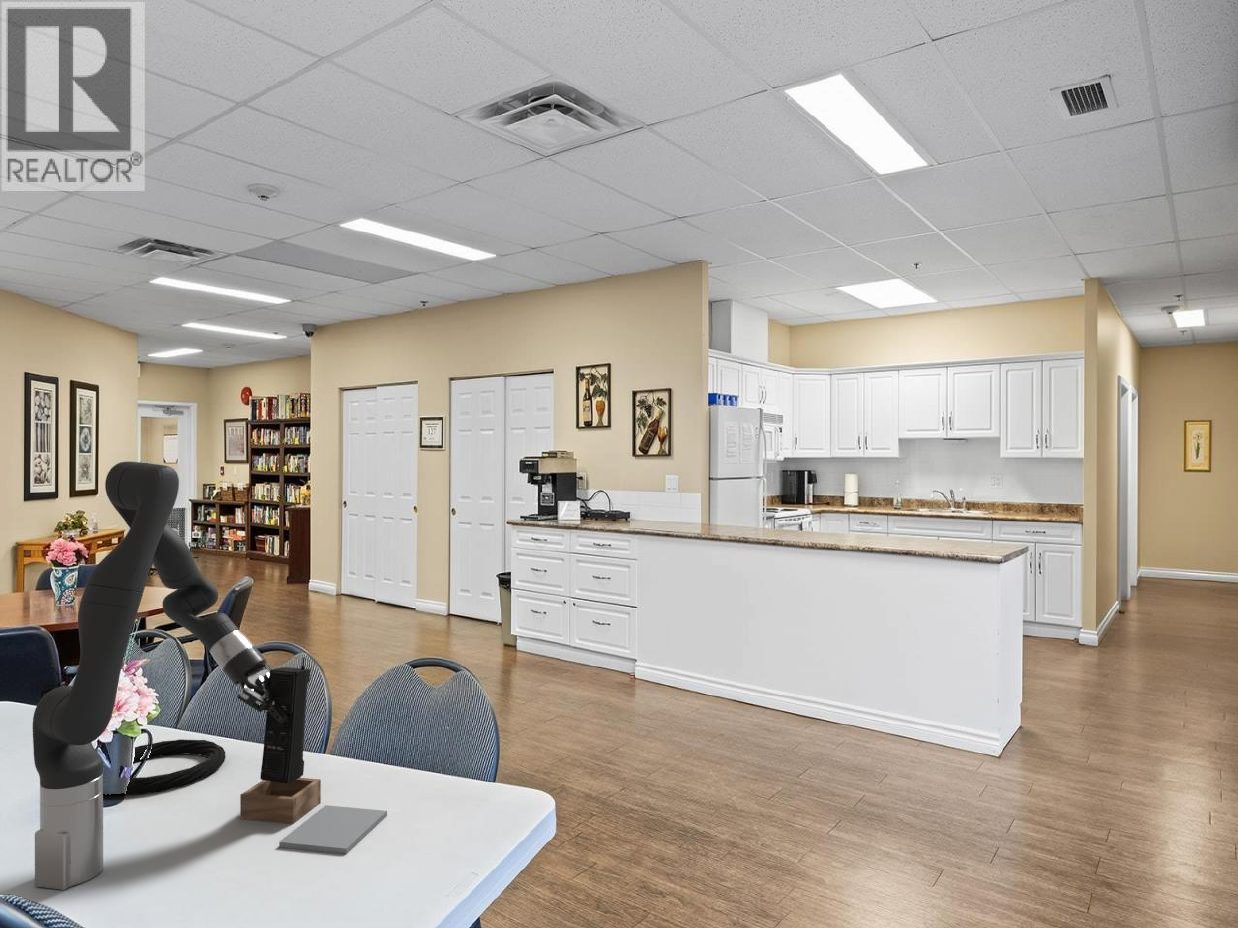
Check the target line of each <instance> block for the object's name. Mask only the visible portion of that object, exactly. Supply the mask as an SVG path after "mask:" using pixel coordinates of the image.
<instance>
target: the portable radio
mask: <svg viewBox="0 0 1238 928" xmlns="http://www.w3.org/2000/svg"><path fill="white" fill-rule="evenodd" d="M301 659H302V662H301V663H302V664H301V666H300V667H291V666H289V667H288V666H282V667H276V668H271V669H269V671H270V675H269V688H270V689H271V691H272V696H273V697H274V699H275V700H276V702H277V704H279V705H280V706H281V707H282V709H283V710H284V711H285V712H286V714H287V715H288V719H287V720H286V721H285V722H284V723H282V724H279V723H278V722H277V721H276V720H275V718H274V717H273V716H272V715H271V714H270V712H266V711H265V712H266V714H265V715H266V716H265V729H264V739H263V740H264V741H263V752H262V759H261V760H262V761H261V770H260V776H259V778H260V780H261V781H262V780H266V781H273V782H281V783H289V782H291V781H294V780H296V779H298V778H302V777H303V775H304V770H305V760H304V759H303V757H304V744H305V743H304V742H305V730H306V729H305V726H306V712H307V696H308V684H309V682H310V681H311V669H310V668H306V666H305V659H306V657H302V658H301ZM277 704H276V705H277Z"/></svg>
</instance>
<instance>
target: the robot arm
mask: <svg viewBox="0 0 1238 928" xmlns="http://www.w3.org/2000/svg"><path fill="white" fill-rule="evenodd" d="M179 478H180V477H179V475H178V472H177V471H176V469H174V468H173V467H171V466H169V465H163V464H157V463H149V462H141V461H120V462H118V463H116V464H115V465H113V466H112V467H111V468H110V469H109V471H108V472H107V475H106V477H105V480H104V481H105V482H104V486H105V488H104V489H105V493H106V496H107V498H108V500H109V502H110V503H111V505H112V506H113V507H114V509H115V510H116V512H117V513H118V514H119V515H120V517H121V518H122V519H123V520H124V522H125V523H126V525H127V526H128V527H129V530H128V531H127V533H126V535H125V537H124V538H123V539H121V541H120V542H119V543H118V544H117V545H116V546H115V547H114V548H113V549H112V550H110V552H109V553H107V554H106V556H104V557H103V558H102V559H101V561H100V562H99V563H98V564H96V565H95V567H94V568H93V570H91V572H90V574H89V576H88V578H87V582H85V583H86V584H85V587H84V590H83V592H82V596H81V600H80V602H79V607H78V611H77V613H78V614H77V629H78V637H79V645H80V656H79V657H80V658H79V664H78V668H77V672H76V675H75V677H74V681H73V684H72V685H63V686H58V687H55V688H53V689H52V690H50V691H48V692H47V693H46V694H44V695H43V696H42V697H41V699H40V700H39V701H38V703H37V704H36V707H35V709H34V713H33V717H32V747H33V748H32V749H33V761H34V767H35V769H36V771H37V773H38V776H39V829H38V830H36V831H35V832H34V887H37V888H47V889H55V890H63V891H64V890H67V889H68V888H70V887H73V886H75V885H79V884H82V883H85V882H88V881H89V880H92V879H93V878H95V877H96V876H98V875H99V874H101V872H102V871H103V869H104V795H103V761H104V760H103V758H102V756H101V755H100V753H98V751H97V750H96V749H95V747H94V745H93V742H94V741H96V740H97V739H98V738H99V737H101V735H103V733H104V732H105V731H106V729H107V727H108V726H109V724H110V722H111V720H112V718H113V717H112V716H113V713H114V710H115V709H114V708H115V703H116V698H117V694H118V687H119V686H118V685H119V683H120V682H119V681H120V677H121V676H120V675H121V670H122V666H123V664H124V663H123V662H124V659H125V655H126V652H127V647H128V646H129V645H128V644H129V641H130V637H131V633H132V630H133V626H134V622H135V620H136V617H137V614H138V611H139V608H140V605H141V602H142V598H143V594H144V591H145V588H146V585H147V579H148V576H149V573H150V570H151V566H152V564H153V566H154V568H155V570H156V572H157V575H158V577H159V579H160V581H161V583H162V585H164V587H165V588H167V589H170V590H174V591H172V592H170V593H168V594H167V595H166V596H165V597H164V598H163V601H162V610H163V612H164V614H165V616H167V617H168V618H169V619H170V620H171V621H173V622H174V623H176V624H177V625H180V626H181V627H182V628H184V629H185V630H187V631H188V632H190V633H191V634H192V635H194V636H195V637H196V638H197V639H198V640H199V641H200V643H202V644H203V646H204V647H205V648H206V649H207V651H208V652H209V653H210V654H211V656H212V658H213V660H214V661H215V662H216V664H217V666H218V667H220V669H221V670H222V671H223V672H224V674H226V676H227V677H228V678H229V679H230V680H229V681H231V683H233V684H234V685H235V686H240V687H241V689H242V690H241V691H240V692H239V693H238V694H237V695H236V697H237V699H238V700H239V701H242V702H243V703H245V704H246V705H248V706H249V707H250V708H253V709H254V710H255V711H257V712H259V713H262V712H263V711H265V712H270V714H271V715H272V716H273V717H274V718H275V720H276V721H277V722H278V723H279V724H282V723H284V722H285V721H286V720H287V719H288V715H287V714H286V712H285V711H284V710H283V709H282V707H281V706H280V705H279V704H277V702H276V700H275V699H274V697H273V696H272V691H271V689H270V688H269V675H270V669H268V668H267V667H266V665H267V659H266V658H265V657H264V656H263V654H262V653H261V652H260V650H259V649H258V648H257V647H256V646H255V645H254V643H253V642H252V641H251V640H250V639H249V637H247V636H246V635H245V634H244V633H243V632H242V631H241V630H240V628H239V627H238V626H237V625H236V624H235V622H233V621H232V619H231V618H230V617H229V616H228V615H227V614H226V613H224V612H217V613H215V614H212V615H209V616H205V617H199V615H201V614H202V613H203V612H205V611H206V610H209V609H210V608H212V607H213V606H214V605H216V603H218V599H219V591H218V589H217V588H216V586H215V585H214V584H213V583H212V582H211V580H209V579H208V578H207V577H206V576H205V575H204V574H203V572H202V571H201V570H200V569H199V567H198V566H197V564H196V561H195V559H194V557H193V554H192V551H191V550H190V548H189V545H188V544H187V543H186V541H185V540H184V539H183V538H182V537H181V536H180V535H179V534H178V533H177V532H176V531H175V530H174V529H173V528H172V527H171V526H170V525H169V524H167V523H168V521H169V519H170V516H171V514H172V511H173V509H174V506H175V504H176V500H177V498H178V493H179V488H180V479H179ZM276 704H277V705H276Z"/></svg>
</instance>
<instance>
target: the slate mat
mask: <svg viewBox="0 0 1238 928" xmlns="http://www.w3.org/2000/svg"><path fill="white" fill-rule="evenodd" d="M387 816H388V810H384V809H383V810H381V809H380V810H379V809H371V808H370V809H368V808H362V807H359V808H358V807H348V806H339V805H330V804H329V805H328V804H327V805H323V806H322V808H320V809H319V810H318V811H316V812H315V813H314V814H312V816H311V815H310V817H309V818H307V819H305V821H303V822H302V823H301V824H300V825H299V826H297V827H296V828H295V829H293V830H292V831H291V832H290V833H288V834H287V835H286V836H285V837H283V838H282V839H280V840H279V846H278V847H279V848H285V849H294V850H298V849H299V850H304V851H305V850H306V851H315V852H325V853H335V854H344V855H345V854H346V855H347V854H349V852H350V851H352V850H353V849H354V848H355V847H356V846H357V845H358V844H360V842H361V841H362V840H363V839H364V838H366V836H367V835H369V833H371V832H372V831H373V830H374V829H375V828H376V827H377V826H378V825H379V824H380V823H381V822H382V821H384V819H385V818H387Z"/></svg>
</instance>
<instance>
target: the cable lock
mask: <svg viewBox="0 0 1238 928" xmlns="http://www.w3.org/2000/svg"><path fill="white" fill-rule="evenodd" d="M151 744H152V749H151V753H150V755H149V759H152V758H156V756H158V757H161V756H160V755H166V756H171V755H178V754H177V753H190V754H189V755H193V754H194V755H198V754H201V755H200V756H202V755H204V756H203V757H207V756H208V757H207V759H206V760H203V761H201V762H199V763H197V764H196V765H193V766H191V767H188V768H184V769H179V770H177V771H174V772H169V773H164V774H159V775H152V776H144V777H142V776H141V777H131V778H132V779H131V780H130V782H129V784H128V786H127V791H126V794H125V795H132V796H133V795H136V796H137V795H145V794H150V793H161V792H164V791H168V790H172V789H176V788H182V787H185V786H188V785H191V784H194V783H196V782H197V781H200V779H201V780H202V778H203V779H205V778H207V777H209V776H211V775H212V774H214V773H215V772H216V771H218V770H219V769H220V768H221V767H222V765H223V764H224V763H225V761H226V751H225V748H223V746H221V745H219V744H218V743H216V742H213V741H210V740H206V739H174V740H164V741H163V740H162V741H158V742H155V743H151ZM147 746H148V744H143V745H138V746H135V747H134V748H135V757H134V763H135V762H136V761H137V762H140V761H139V760H140V758H141V757H142V756H143V754H144V752H145V750H146V749H147ZM137 762H136V763H137Z"/></svg>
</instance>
